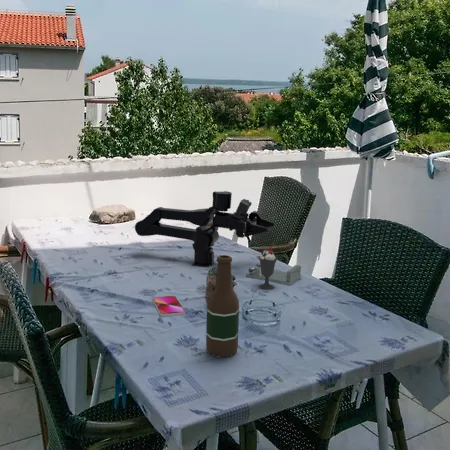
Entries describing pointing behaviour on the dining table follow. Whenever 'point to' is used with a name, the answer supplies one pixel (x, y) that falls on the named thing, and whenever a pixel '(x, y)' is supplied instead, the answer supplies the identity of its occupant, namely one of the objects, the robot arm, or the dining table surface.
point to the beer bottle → (222, 313)
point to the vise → (277, 275)
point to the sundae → (267, 266)
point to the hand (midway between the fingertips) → (270, 227)
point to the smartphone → (168, 306)
